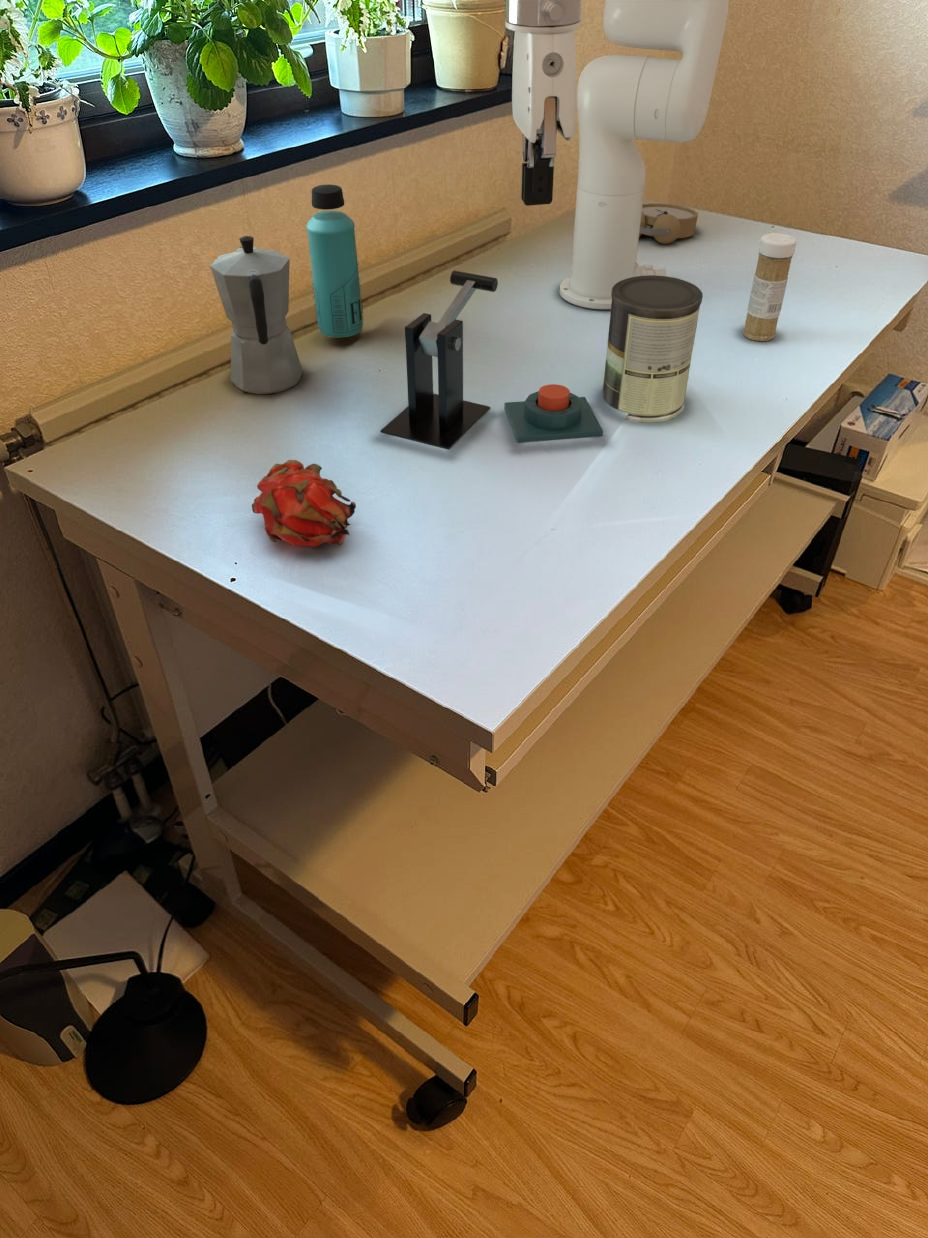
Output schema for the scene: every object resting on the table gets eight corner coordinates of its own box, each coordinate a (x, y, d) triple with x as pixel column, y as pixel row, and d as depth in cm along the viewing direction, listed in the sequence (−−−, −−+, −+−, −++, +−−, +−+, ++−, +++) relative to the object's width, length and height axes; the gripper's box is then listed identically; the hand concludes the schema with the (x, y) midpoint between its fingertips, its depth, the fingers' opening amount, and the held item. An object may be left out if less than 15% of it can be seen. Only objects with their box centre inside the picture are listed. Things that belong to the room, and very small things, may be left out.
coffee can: (583, 403, 116) (593, 291, 107) (634, 376, 121) (648, 268, 112) (650, 432, 110) (667, 316, 101) (701, 403, 116) (721, 291, 106)
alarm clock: (709, 210, 164) (675, 217, 153) (702, 240, 166) (668, 249, 155) (651, 199, 168) (614, 205, 158) (645, 228, 171) (608, 236, 160)
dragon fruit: (274, 521, 99) (349, 582, 94) (216, 511, 92) (294, 576, 86) (310, 451, 97) (389, 509, 92) (253, 435, 89) (336, 497, 84)
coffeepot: (227, 360, 125) (202, 221, 113) (297, 353, 127) (280, 215, 115) (235, 414, 114) (209, 266, 102) (312, 405, 116) (295, 258, 104)
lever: (457, 281, 111) (454, 264, 109) (499, 289, 109) (496, 271, 107) (409, 351, 105) (405, 334, 103) (452, 360, 104) (449, 343, 102)
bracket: (425, 399, 117) (422, 299, 108) (490, 415, 113) (492, 312, 105) (380, 439, 109) (373, 334, 101) (449, 457, 106) (447, 350, 98)
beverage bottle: (357, 350, 127) (344, 196, 115) (311, 346, 129) (293, 193, 116) (370, 330, 132) (359, 180, 119) (325, 327, 133) (310, 178, 120)
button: (564, 396, 110) (565, 382, 109) (571, 411, 108) (573, 397, 107) (535, 398, 110) (535, 385, 109) (541, 413, 107) (542, 399, 106)
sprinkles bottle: (767, 327, 133) (788, 230, 124) (780, 341, 129) (803, 242, 121) (736, 330, 132) (755, 232, 124) (749, 343, 129) (769, 244, 120)
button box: (583, 408, 115) (586, 382, 112) (601, 443, 108) (604, 416, 106) (503, 414, 114) (504, 388, 111) (517, 450, 107) (518, 422, 105)
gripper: (600, 21, 87) (586, 223, 99) (562, -6, 98) (553, 178, 110) (522, 25, 86) (517, 228, 98) (492, -3, 97) (491, 183, 109)
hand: (536, 201), depth 104 cm, fingers closed
